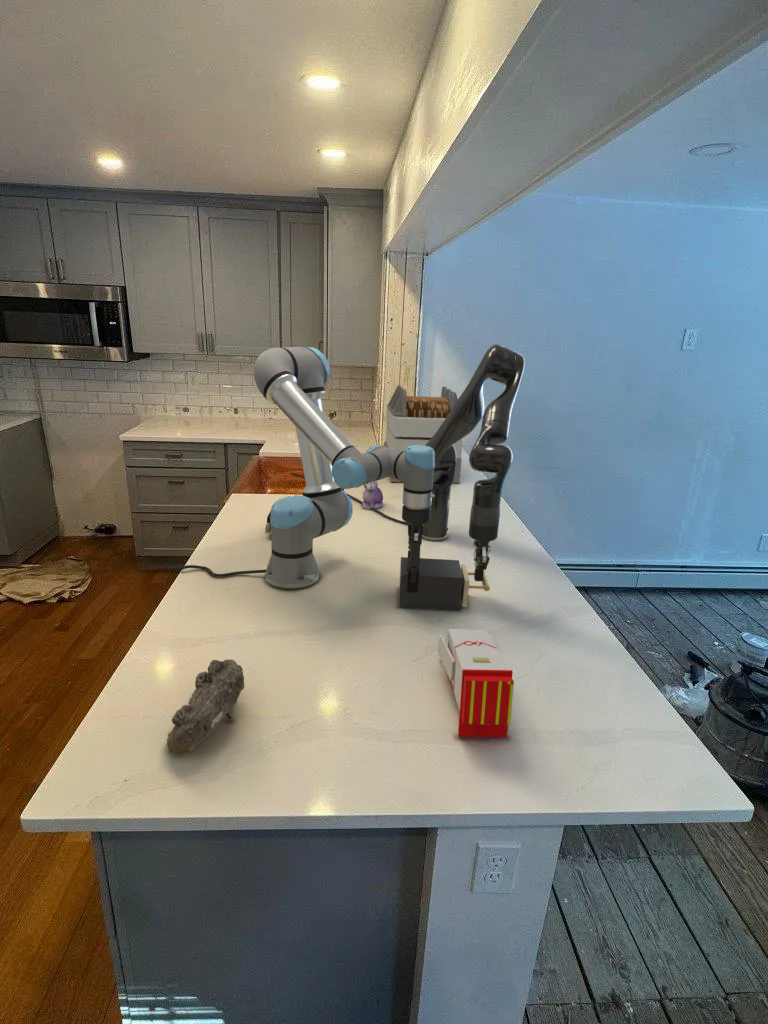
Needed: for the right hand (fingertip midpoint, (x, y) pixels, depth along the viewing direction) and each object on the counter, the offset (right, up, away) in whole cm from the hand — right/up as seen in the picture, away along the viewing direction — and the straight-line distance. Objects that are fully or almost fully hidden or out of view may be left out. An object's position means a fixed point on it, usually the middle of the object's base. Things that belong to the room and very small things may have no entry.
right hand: (478, 580), depth 153 cm
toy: (-8, -19, -35) cm, 40 cm away
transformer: (-8, +37, +122) cm, 128 cm away
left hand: (-18, -1, +1) cm, 18 cm away
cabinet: (-13, -6, +3) cm, 15 cm away
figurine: (-30, +21, +73) cm, 82 cm away
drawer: (-8, -5, +2) cm, 10 cm away
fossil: (-58, -21, -45) cm, 77 cm away
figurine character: (-62, +11, +43) cm, 77 cm away
